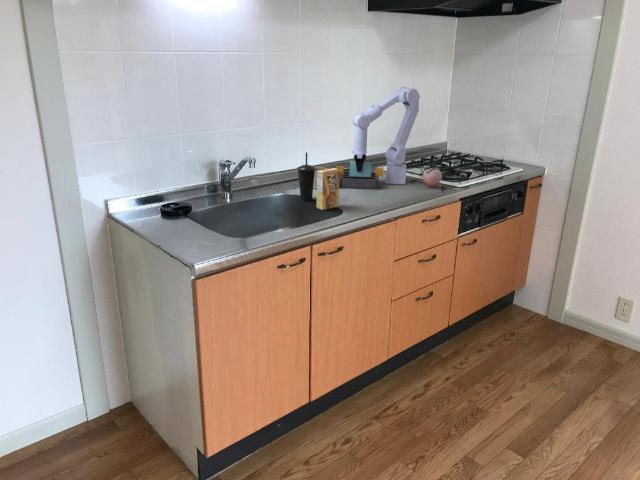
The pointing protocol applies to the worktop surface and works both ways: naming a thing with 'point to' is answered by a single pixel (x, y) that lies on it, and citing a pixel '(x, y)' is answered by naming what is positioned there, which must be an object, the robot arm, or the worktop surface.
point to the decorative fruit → (432, 176)
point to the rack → (359, 180)
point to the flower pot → (316, 176)
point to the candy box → (328, 188)
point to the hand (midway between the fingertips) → (359, 170)
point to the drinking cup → (306, 181)
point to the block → (365, 170)
